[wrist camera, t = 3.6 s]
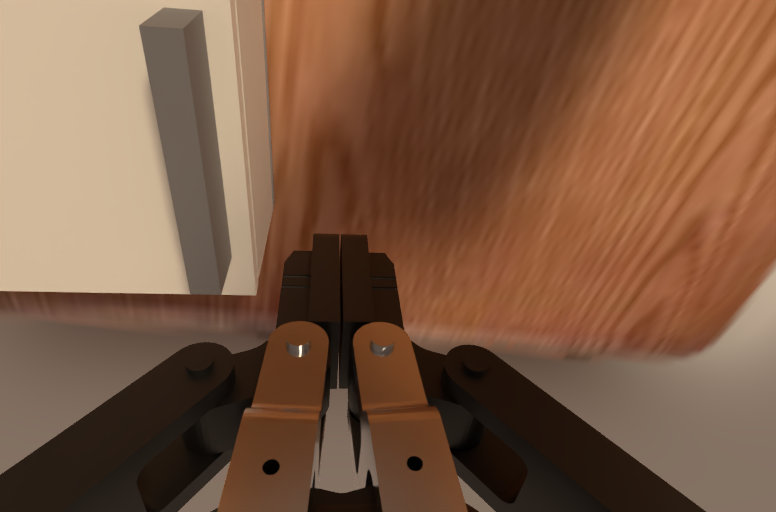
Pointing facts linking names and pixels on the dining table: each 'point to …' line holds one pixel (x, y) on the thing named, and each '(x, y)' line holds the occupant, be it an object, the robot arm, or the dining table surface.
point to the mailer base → (256, 116)
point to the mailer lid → (123, 149)
